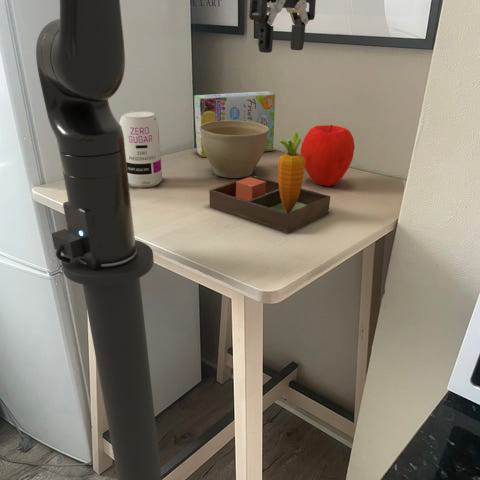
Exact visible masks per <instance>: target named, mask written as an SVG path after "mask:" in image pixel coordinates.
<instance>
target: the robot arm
mask: <svg viewBox="0 0 480 480" xmlns="http://www.w3.org/2000/svg"><path fill="white" fill-rule="evenodd" d="M316 2H317V0H249V13H248V18H249V19H250V20H251V21H254V22H256V23H257V25H258V39H257V40H258V41H257V42H258V43H257V45H258V51H259V53H264V54H265V53H266V54H269V53H272V52H273V40H274V25H273V24H274V22H275V20H276V17H277V15H278V14H279V13H280V12H281V11H282V10H283V9H285V10H286V12H287V13H289V15H290V18H291V21H292V24H291V31H290V32H291V33H290V34H291V35H290V46H289V47H290V50H291V51H302V50H303V49H304V44H305V38H306V37H305V35H306V26H307V25H308V23H309V22H310V21H314V19H315V16H316ZM258 3H259V10H258ZM307 7H308V11H307ZM121 8H122V7H121V0H59V18H57V19H53V20H51V21H50V22H48V23H47V24H45V25H44V26H43V27H42V29H41V31H40V32H39V34H38V37H37V40H36V45H35V60H36V67H37V73H38V78H39V83H40V88H41V92H42V97H43V102H44V106H45V111H46V115H47V118H48V122H49V125H50V128H51V130H52V132H53V134H54V136H55V140H56V144H57V148H58V153H59V158H60V164H61V169H62V175H63V181H64V185H65V186H64V187H65V191H66V197H67V201H64V202H63V204H62V206H63V212H64V219H65V223H66V228H64V229H60V230H58V231H54V232H51V239H52V243H53V247H54V250H56V251H55V256H56V258H57V259H58V260H59V261H60V262H61V261H64V262H67V263H69V262H70V261H71V260H70V259H69V258H67V257H63V255H64V254H65V255H67V256H69V257H71V258H73V260H75V261H77V262H79V263H80V264H82V265H84V266H86V267H88V268H90V269H92V270H94V271H97V270H100V269H107V268H115V267H119V266H123V265H125V264H128V263H130V262H131V261H133V260H134V259H135V258H136V256H137V249H136V245H135V240H136V237H135V227H134V219H133V211H132V201H131V192H130V191H131V190H130V184H129V182H128V173H127V164H126V154H125V144H124V136H123V131H122V128H121V126H120V123H119V121H117V119H116V117H115V116H114V114H113V111H112V109H111V107H110V103H109V99H110V98H112V97H113V96H114V95H115V94H116V92H117V91H118V90H119V89H120V86H121V84H122V82H123V79H124V76H125V69H126V51H125V50H126V49H125V39H124V30H123V19H122V18H123V17H122V9H121Z"/></svg>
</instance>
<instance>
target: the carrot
mask: <svg viewBox="0 0 480 480" xmlns="http://www.w3.org/2000/svg"><path fill="white" fill-rule="evenodd" d="M301 142H302V139H301V137H299V133H298V132H295V131H294V132H292V139H291V138H288V139H287V141H286V140H285V139H283V138H281V139H280V140H279V143H281V144H282V145H283V146H284V148H285V149H286V151H287V152H285V153H284V154H281V155H280V156H279V157H278V165H277V166H278V167H277V182H278V185H279V192H280V198H281V201H282V204H283V206H284V209H285V211H286V212H287V213H289V212H290V211H292V209H293V207H294V206H295V204H296V202H297V200H298V197H299V194H300V191H301V188H302V186H303V183H304V175H305V158H304V157H303V156H301V153H297V150H298V148H299V145H300V143H301Z"/></svg>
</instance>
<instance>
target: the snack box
mask: <svg viewBox="0 0 480 480" xmlns="http://www.w3.org/2000/svg"><path fill="white" fill-rule="evenodd" d="M193 101H194V124H195V146H196V154H198V155H199V156H200V157H202V158H207V157H206V155H205V152H204V149H203V146H202V140H201V132H200V126H201V125H202V124H204V123H208V122H213V121H225V120H236V121H247V122H254V123H259V124H262V125H265V126H266V127H268V129H269V130H268V135H267V141H266V146H265V150H264V152H272V151H274V140H275V139H274V136H275V134H274V133H275V112H276V111H275V110H276V94H275V93H274V92H271V91H266V90H265V91H250V92H229V93H215V94H196V95H193Z"/></svg>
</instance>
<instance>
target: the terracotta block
mask: <svg viewBox="0 0 480 480" xmlns="http://www.w3.org/2000/svg"><path fill="white" fill-rule="evenodd" d="M248 177H249V178H247V177H245V178H246V179H244V178H242V179H243V180H241V179H239V180H240V181H238V180H236V181H237V182H236V197H237V198H240V199H243V200H246V201H249V200H251V199H254V198H256V197H259V196H262V195H264V194H266V181H262V180H259V179H255V178H251V177H250V176H248Z"/></svg>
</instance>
